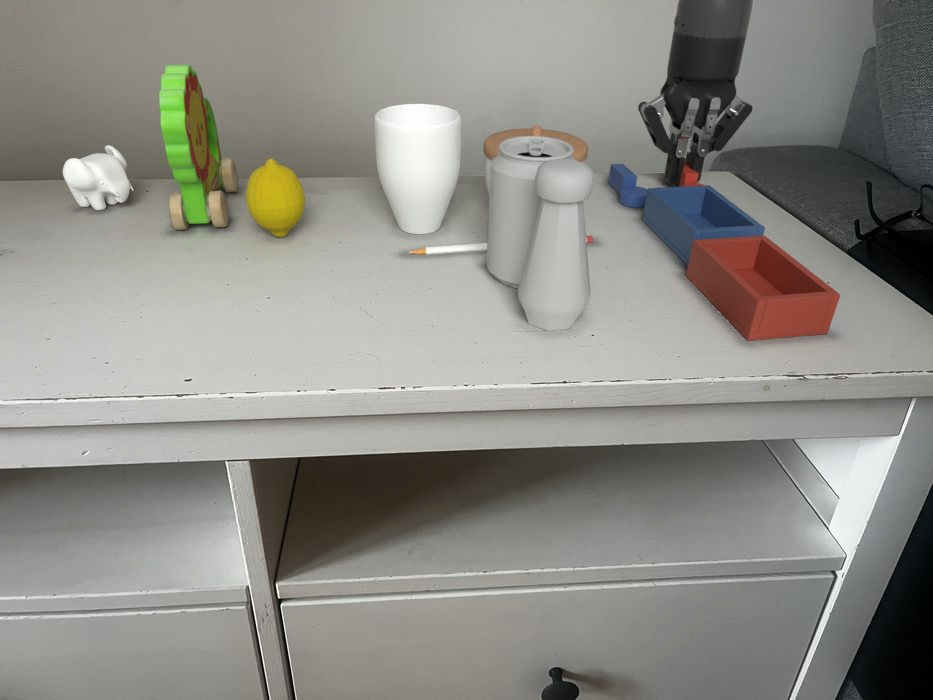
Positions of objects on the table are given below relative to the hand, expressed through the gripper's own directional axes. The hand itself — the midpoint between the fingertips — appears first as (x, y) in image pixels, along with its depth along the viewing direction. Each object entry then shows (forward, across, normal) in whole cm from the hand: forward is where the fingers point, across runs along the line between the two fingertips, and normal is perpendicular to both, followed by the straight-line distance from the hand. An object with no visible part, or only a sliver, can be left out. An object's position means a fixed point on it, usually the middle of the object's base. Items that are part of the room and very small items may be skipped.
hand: (680, 185), depth 86 cm
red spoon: (0, 0, -2) cm, 2 cm away
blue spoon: (0, -8, -2) cm, 8 cm away
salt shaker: (0, -24, -28) cm, 37 cm away
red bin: (0, -6, -28) cm, 28 cm away
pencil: (+1, -25, -14) cm, 29 cm away
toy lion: (0, -54, -1) cm, 54 cm away
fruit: (0, -46, -8) cm, 47 cm away
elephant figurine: (0, -65, +3) cm, 65 cm away
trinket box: (0, -20, -6) cm, 21 cm away
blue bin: (0, -5, -15) cm, 16 cm away
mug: (0, -32, -6) cm, 33 cm away
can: (0, -24, -20) cm, 31 cm away
